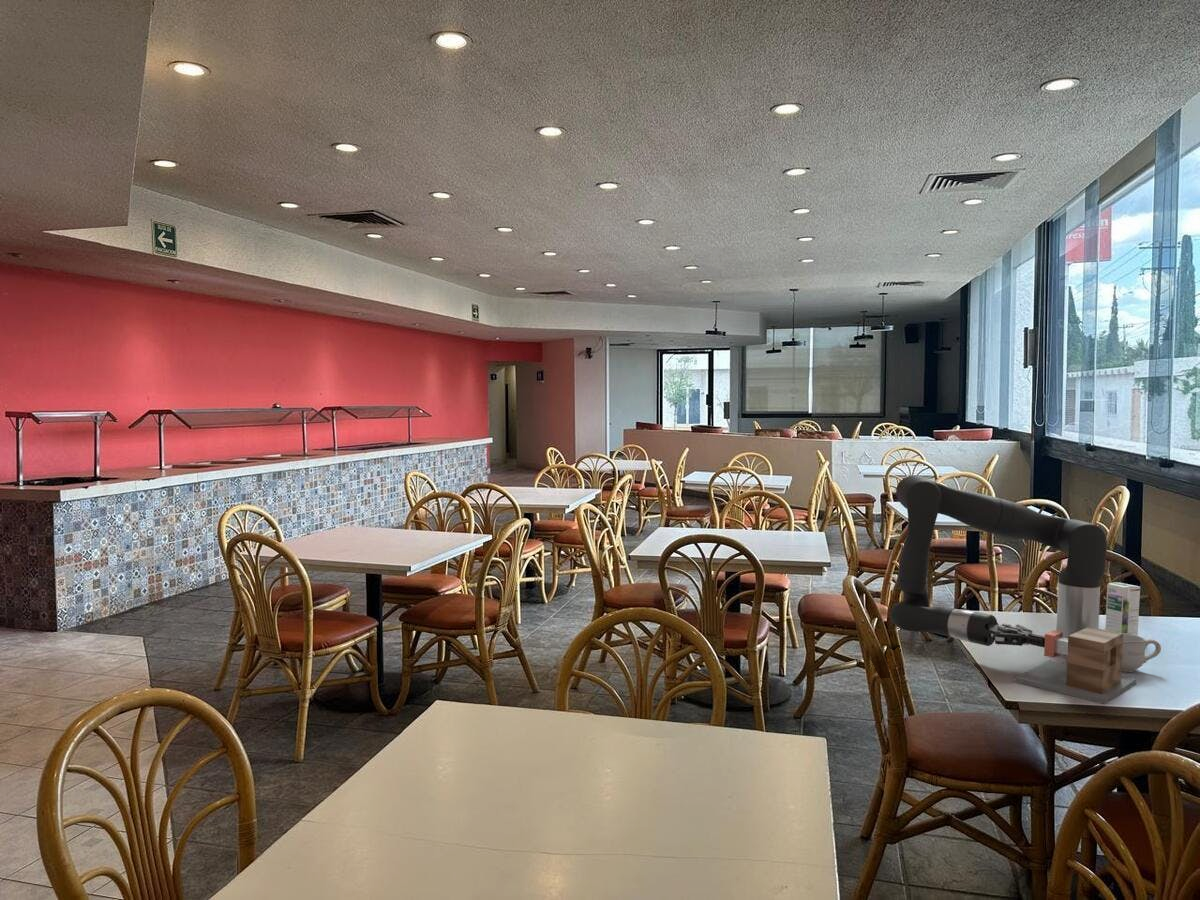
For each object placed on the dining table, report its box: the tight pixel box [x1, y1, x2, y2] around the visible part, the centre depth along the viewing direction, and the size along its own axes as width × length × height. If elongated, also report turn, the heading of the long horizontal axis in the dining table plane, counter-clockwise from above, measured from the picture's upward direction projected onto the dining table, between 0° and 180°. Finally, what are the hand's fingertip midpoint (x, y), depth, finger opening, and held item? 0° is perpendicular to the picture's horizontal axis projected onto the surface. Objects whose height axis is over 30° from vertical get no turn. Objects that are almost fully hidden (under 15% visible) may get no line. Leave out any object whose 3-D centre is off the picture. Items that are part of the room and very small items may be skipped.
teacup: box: [1122, 633, 1162, 673], centre depth 193 cm, size 14×11×8 cm
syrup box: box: [1104, 581, 1141, 636], centre depth 221 cm, size 6×6×14 cm
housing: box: [1066, 627, 1123, 694], centre depth 179 cm, size 12×7×12 cm, turn 131°
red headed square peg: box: [1043, 629, 1068, 659], centre depth 183 cm, size 5×9×5 cm, turn 41°
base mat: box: [1014, 659, 1137, 705], centre depth 183 cm, size 20×18×1 cm
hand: (1047, 642), depth 186 cm, fingers closed
